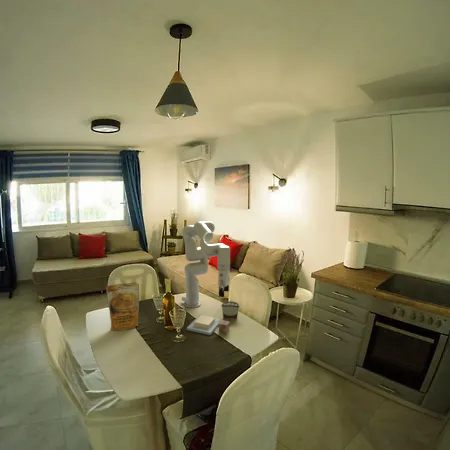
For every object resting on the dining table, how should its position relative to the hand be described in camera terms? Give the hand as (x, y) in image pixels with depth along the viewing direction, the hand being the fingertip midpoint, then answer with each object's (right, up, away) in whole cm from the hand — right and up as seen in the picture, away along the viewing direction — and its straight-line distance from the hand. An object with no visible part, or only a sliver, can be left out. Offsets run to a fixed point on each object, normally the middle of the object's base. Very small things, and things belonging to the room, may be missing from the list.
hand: (223, 293), depth 174 cm
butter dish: (-12, -22, +9) cm, 27 cm away
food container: (+4, -21, +22) cm, 31 cm away
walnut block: (0, -24, +2) cm, 24 cm away
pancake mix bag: (-62, -22, +6) cm, 66 cm away
